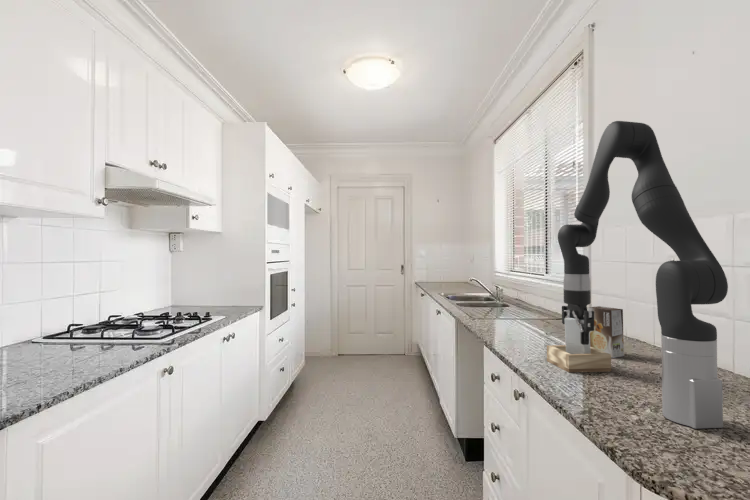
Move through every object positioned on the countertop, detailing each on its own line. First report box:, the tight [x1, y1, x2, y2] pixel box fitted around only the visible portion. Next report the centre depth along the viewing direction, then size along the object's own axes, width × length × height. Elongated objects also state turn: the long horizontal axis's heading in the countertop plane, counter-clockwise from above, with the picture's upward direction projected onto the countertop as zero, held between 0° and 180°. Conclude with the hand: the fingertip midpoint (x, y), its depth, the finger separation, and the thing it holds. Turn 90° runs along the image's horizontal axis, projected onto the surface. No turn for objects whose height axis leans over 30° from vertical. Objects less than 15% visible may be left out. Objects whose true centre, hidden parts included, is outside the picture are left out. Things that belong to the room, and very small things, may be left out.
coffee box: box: [587, 305, 625, 359], centre depth 140 cm, size 9×6×16 cm
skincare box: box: [564, 317, 591, 354], centre depth 125 cm, size 6×4×12 cm
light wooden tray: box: [546, 344, 612, 373], centre depth 125 cm, size 13×13×5 cm
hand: (577, 341), depth 125 cm, fingers closed on skincare box, 7 cm apart
